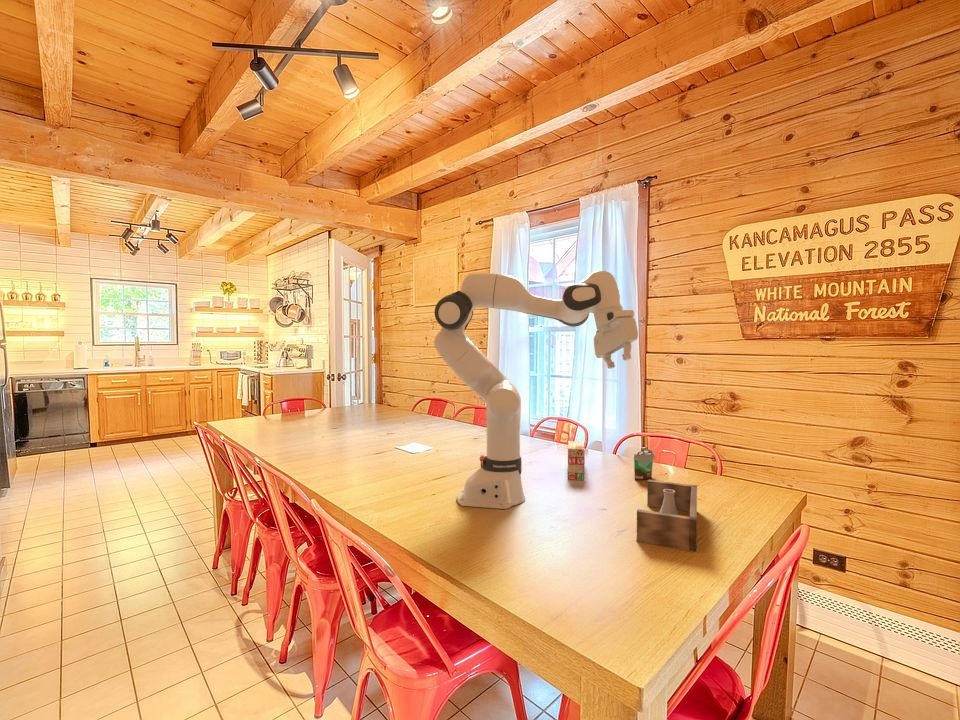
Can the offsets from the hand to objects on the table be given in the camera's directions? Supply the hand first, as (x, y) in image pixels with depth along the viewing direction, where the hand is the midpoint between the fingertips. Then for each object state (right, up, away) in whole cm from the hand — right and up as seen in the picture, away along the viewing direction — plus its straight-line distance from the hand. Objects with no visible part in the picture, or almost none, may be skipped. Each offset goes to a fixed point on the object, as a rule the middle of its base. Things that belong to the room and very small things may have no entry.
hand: (619, 364), depth 136 cm
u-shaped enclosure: (+12, -46, -8) cm, 48 cm away
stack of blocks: (-4, -44, +44) cm, 62 cm away
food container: (+21, -44, +36) cm, 60 cm away
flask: (+12, -46, -8) cm, 48 cm away
